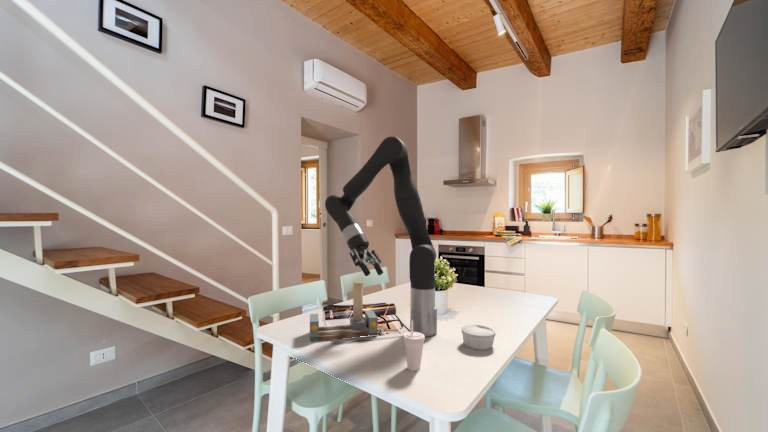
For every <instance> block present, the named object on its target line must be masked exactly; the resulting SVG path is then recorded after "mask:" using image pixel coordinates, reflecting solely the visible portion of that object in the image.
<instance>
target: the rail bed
mask: <svg viewBox="0 0 768 432" xmlns="http://www.w3.org/2000/svg"><path fill="white" fill-rule="evenodd" d="M373 334H374V335H376V334H377V335H378V331H377V332H376V333H373ZM368 335H371V334H370V333H369V329H368V328H366V329H355V330H352V327H351V325H350V324H339V325H327V326H326V325H325V326H323V325H322V326H319V337H317V339H316V337H312V340H313V338H315V339H316V340H317V341H316V342H322V341H335V340H334V339H339V340H344V339H343V338H352V337H360V336H368ZM318 338H319V341H318ZM352 339H353V338H352ZM313 342H315V341H314V340H313Z"/></svg>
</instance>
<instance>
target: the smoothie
mask: <svg viewBox="0 0 768 432" xmlns="http://www.w3.org/2000/svg"><path fill="white" fill-rule="evenodd" d="M425 337H426V336H425V335H424V334H422V333H420V332H413V320H411V332H410V331H408V332H404V333H403V335H402V340H403V341H404V350H405V351H404V352H405V356H406V357H405V360H406V367H407V370H409V371H410V372H411V371H412V372H417V371H419V370H421V365H422V357H423V349H424V341H425V340H426V338H425Z"/></svg>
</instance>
